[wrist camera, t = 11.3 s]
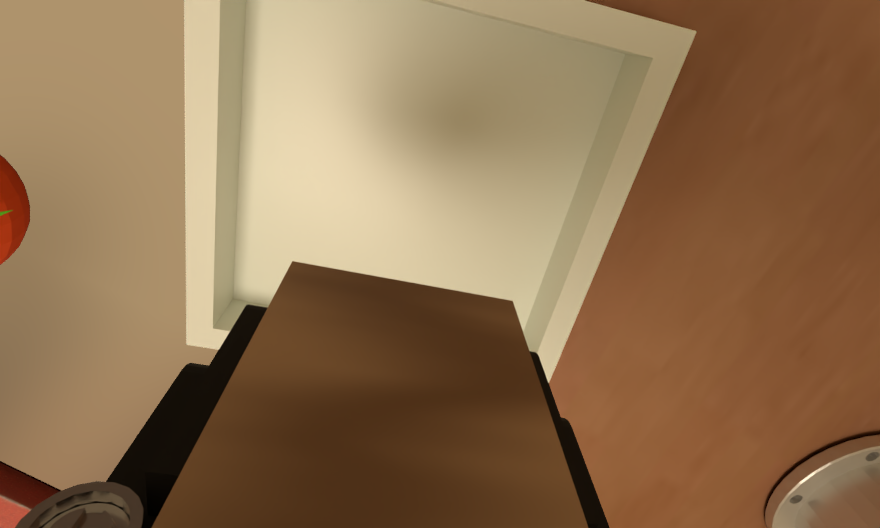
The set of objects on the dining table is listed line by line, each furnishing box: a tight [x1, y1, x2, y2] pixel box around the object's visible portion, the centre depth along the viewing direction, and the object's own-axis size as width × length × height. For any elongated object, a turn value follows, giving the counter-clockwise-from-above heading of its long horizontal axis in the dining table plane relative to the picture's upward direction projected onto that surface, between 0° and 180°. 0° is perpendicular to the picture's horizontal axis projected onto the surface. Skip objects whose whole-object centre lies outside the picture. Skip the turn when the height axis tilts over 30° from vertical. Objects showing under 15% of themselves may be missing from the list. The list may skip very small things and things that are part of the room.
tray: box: [184, 0, 697, 383], centre depth 22 cm, size 18×18×4 cm
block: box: [152, 261, 588, 528], centre depth 8 cm, size 4×4×6 cm
